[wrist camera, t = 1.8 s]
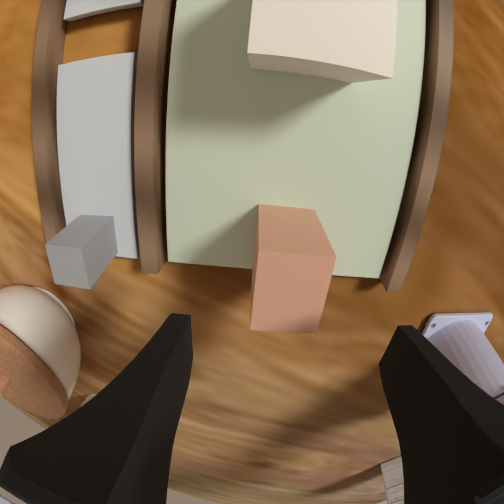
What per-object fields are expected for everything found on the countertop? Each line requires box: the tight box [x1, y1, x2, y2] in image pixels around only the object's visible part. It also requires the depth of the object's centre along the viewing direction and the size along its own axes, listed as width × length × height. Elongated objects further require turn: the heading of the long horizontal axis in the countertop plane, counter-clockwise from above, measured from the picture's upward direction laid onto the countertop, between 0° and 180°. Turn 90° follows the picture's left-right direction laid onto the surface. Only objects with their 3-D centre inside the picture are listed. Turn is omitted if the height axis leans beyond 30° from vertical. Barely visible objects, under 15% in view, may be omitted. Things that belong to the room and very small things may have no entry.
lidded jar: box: [0, 285, 81, 419], centre depth 18 cm, size 11×11×9 cm
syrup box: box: [380, 456, 404, 504], centre depth 30 cm, size 6×6×14 cm
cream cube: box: [247, 0, 397, 83], centre depth 9 cm, size 5×5×5 cm
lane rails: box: [32, 0, 454, 292], centre depth 13 cm, size 21×23×2 cm
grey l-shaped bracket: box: [45, 52, 140, 289], centre depth 13 cm, size 12×5×5 cm, turn 175°
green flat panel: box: [166, 0, 426, 334], centre depth 11 cm, size 20×13×6 cm, turn 175°
